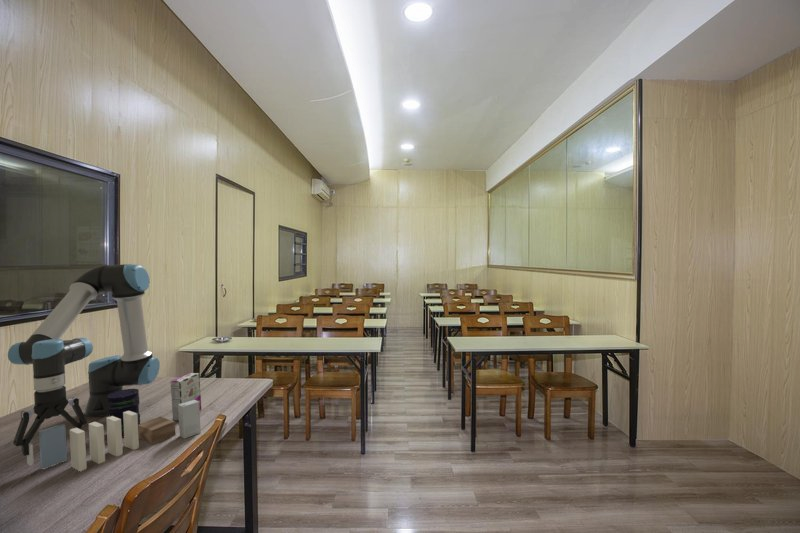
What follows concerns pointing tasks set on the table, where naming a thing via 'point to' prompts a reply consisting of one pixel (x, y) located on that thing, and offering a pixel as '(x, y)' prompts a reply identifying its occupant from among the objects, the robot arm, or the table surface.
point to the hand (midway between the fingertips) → (53, 455)
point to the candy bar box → (185, 392)
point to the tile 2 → (96, 442)
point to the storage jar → (123, 404)
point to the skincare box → (189, 418)
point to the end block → (156, 430)
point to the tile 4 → (130, 430)
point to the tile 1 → (78, 449)
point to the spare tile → (52, 445)
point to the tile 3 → (114, 436)
